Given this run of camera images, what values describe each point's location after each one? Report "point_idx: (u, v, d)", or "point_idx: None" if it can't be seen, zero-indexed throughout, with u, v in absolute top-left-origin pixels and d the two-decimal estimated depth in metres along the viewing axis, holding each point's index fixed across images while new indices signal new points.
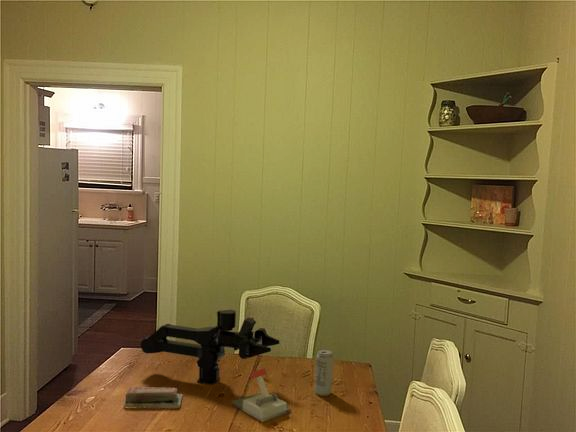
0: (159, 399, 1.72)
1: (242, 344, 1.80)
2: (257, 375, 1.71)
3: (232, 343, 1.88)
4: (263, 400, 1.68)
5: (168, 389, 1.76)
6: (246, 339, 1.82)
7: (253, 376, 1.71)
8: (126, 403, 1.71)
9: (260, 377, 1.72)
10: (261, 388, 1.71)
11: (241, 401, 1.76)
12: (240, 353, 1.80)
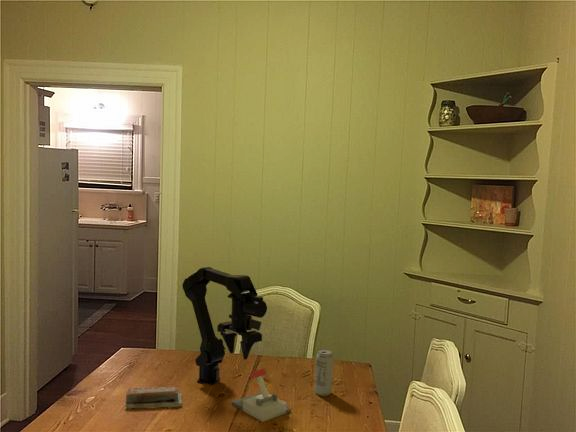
0: (160, 398, 1.73)
1: (260, 337, 1.78)
2: (257, 375, 1.71)
3: (243, 315, 1.81)
4: (263, 400, 1.68)
5: (168, 388, 1.76)
6: None
7: (253, 376, 1.71)
8: (127, 404, 1.70)
9: (260, 377, 1.72)
10: (261, 388, 1.71)
11: (241, 401, 1.76)
12: (253, 337, 1.76)
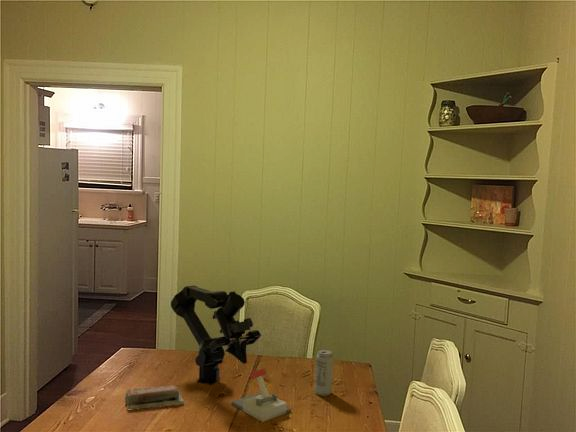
0: (162, 398, 1.73)
1: (215, 342, 1.75)
2: (257, 375, 1.71)
3: (221, 326, 1.84)
4: (263, 400, 1.68)
5: (168, 387, 1.77)
6: (223, 340, 1.76)
7: (253, 376, 1.71)
8: (129, 405, 1.69)
9: (260, 377, 1.72)
10: (261, 388, 1.71)
11: (241, 401, 1.76)
12: (210, 345, 1.77)
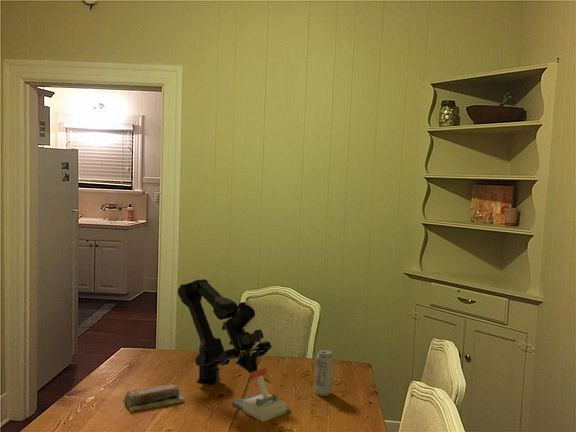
0: (163, 397, 1.74)
1: (225, 354, 1.71)
2: (257, 375, 1.71)
3: (230, 337, 1.79)
4: (263, 400, 1.68)
5: (167, 386, 1.78)
6: (234, 352, 1.72)
7: (253, 376, 1.71)
8: (132, 406, 1.68)
9: (260, 377, 1.72)
10: (261, 388, 1.71)
11: (241, 401, 1.76)
12: (220, 358, 1.73)
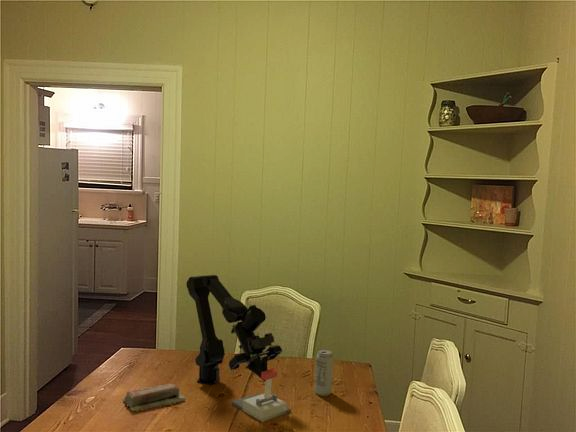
0: (163, 396, 1.75)
1: (235, 359, 1.66)
2: (268, 378, 1.67)
3: (240, 341, 1.75)
4: (263, 401, 1.68)
5: (166, 386, 1.79)
6: (244, 357, 1.68)
7: (264, 378, 1.67)
8: (133, 407, 1.68)
9: (269, 379, 1.69)
10: (266, 389, 1.69)
11: (241, 401, 1.76)
12: (230, 362, 1.69)
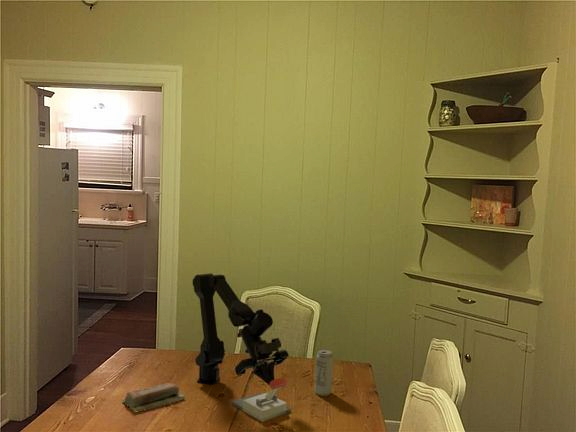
0: (164, 396, 1.75)
1: (242, 364, 1.64)
2: (275, 388, 1.65)
3: (246, 346, 1.73)
4: (263, 402, 1.69)
5: (165, 385, 1.79)
6: (251, 362, 1.65)
7: (272, 387, 1.64)
8: (135, 407, 1.68)
9: (276, 388, 1.66)
10: (270, 393, 1.68)
11: (241, 401, 1.76)
12: (236, 367, 1.66)
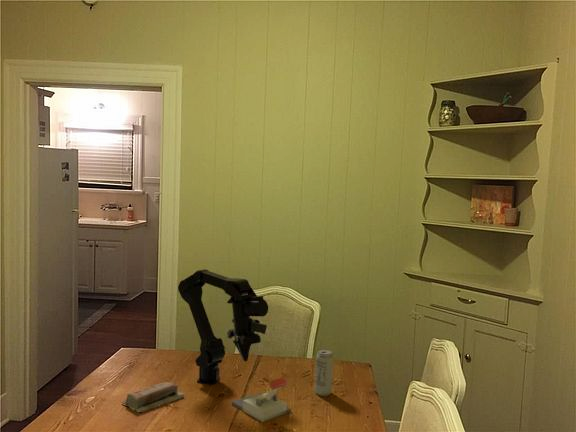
0: (164, 395, 1.76)
1: (258, 338, 1.76)
2: (275, 388, 1.65)
3: (243, 318, 1.82)
4: (263, 402, 1.69)
5: (164, 384, 1.80)
6: None
7: (272, 387, 1.64)
8: (139, 408, 1.68)
9: (276, 388, 1.66)
10: (270, 393, 1.68)
11: (241, 401, 1.76)
12: (248, 338, 1.75)
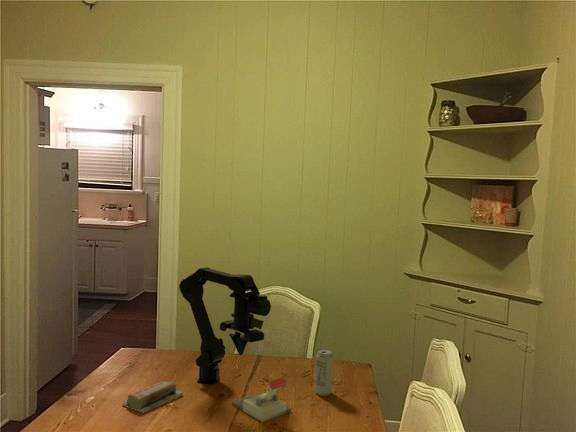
0: (164, 394, 1.76)
1: (262, 336, 1.80)
2: (275, 388, 1.65)
3: (246, 314, 1.83)
4: (263, 402, 1.69)
5: (162, 384, 1.80)
6: None
7: (272, 387, 1.64)
8: (142, 408, 1.67)
9: (276, 388, 1.66)
10: (270, 393, 1.68)
11: (241, 401, 1.76)
12: (255, 336, 1.78)
